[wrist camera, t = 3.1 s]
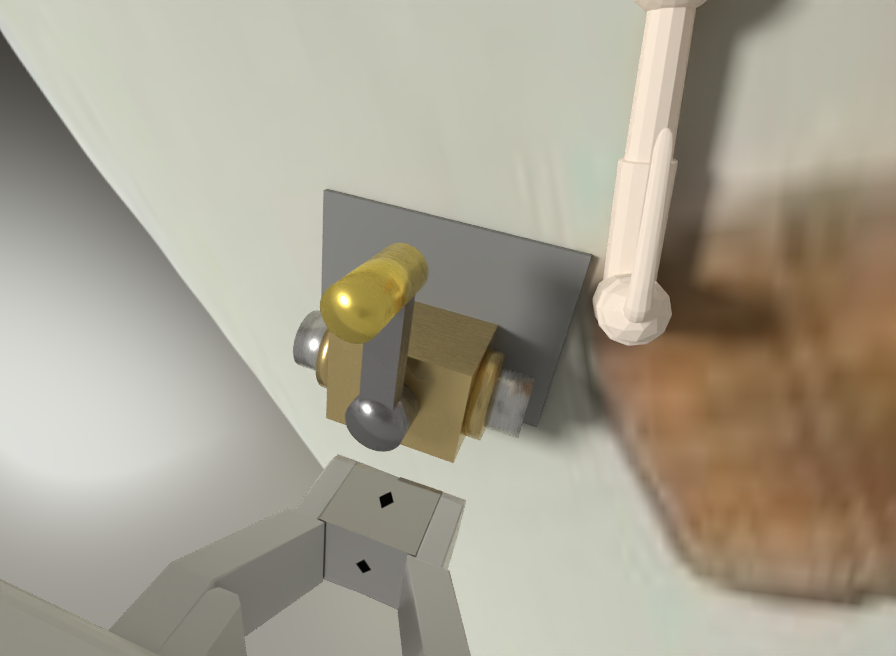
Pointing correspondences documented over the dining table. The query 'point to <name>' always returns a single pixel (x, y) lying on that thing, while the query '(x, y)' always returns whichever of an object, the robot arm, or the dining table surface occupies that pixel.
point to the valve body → (428, 378)
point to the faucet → (646, 180)
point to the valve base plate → (469, 277)
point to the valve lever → (379, 340)
